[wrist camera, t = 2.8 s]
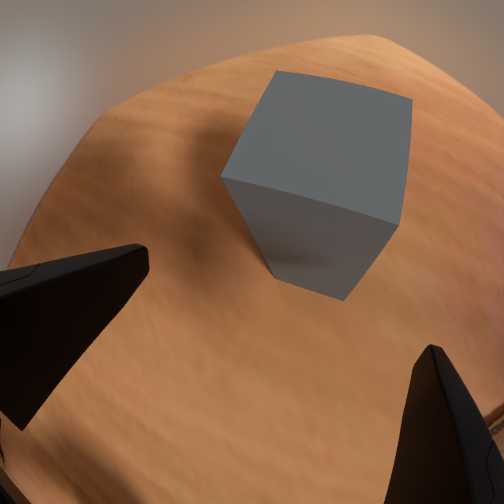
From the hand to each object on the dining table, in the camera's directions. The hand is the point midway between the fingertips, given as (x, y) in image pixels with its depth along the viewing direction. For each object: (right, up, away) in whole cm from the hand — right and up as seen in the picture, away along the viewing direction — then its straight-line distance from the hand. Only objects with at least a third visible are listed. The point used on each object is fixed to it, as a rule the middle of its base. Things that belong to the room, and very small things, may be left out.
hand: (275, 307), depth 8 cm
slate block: (+4, +1, +12) cm, 13 cm away
